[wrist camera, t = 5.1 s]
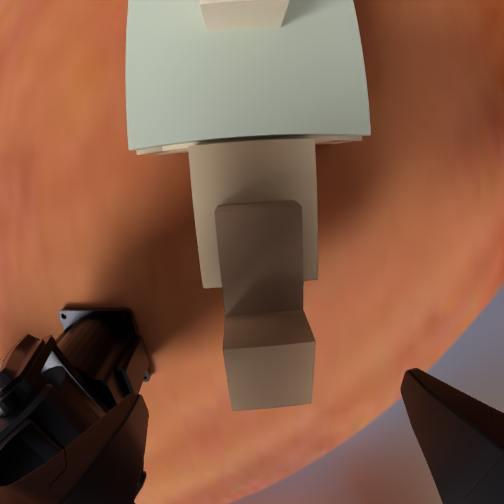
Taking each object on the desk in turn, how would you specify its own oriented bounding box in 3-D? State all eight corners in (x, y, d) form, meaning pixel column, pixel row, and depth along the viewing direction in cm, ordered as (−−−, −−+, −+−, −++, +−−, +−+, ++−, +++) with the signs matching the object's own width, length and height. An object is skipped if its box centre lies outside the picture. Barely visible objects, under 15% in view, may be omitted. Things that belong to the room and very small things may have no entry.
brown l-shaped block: (233, 353, 14) (232, 410, 10) (217, 204, 12) (207, 225, 8) (296, 347, 14) (311, 403, 10) (293, 199, 12) (317, 218, 8)
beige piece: (174, 251, 19) (148, 291, 13) (161, -29, 13) (139, -76, 7) (332, 239, 19) (369, 274, 13) (307, -37, 13) (328, -85, 7)
